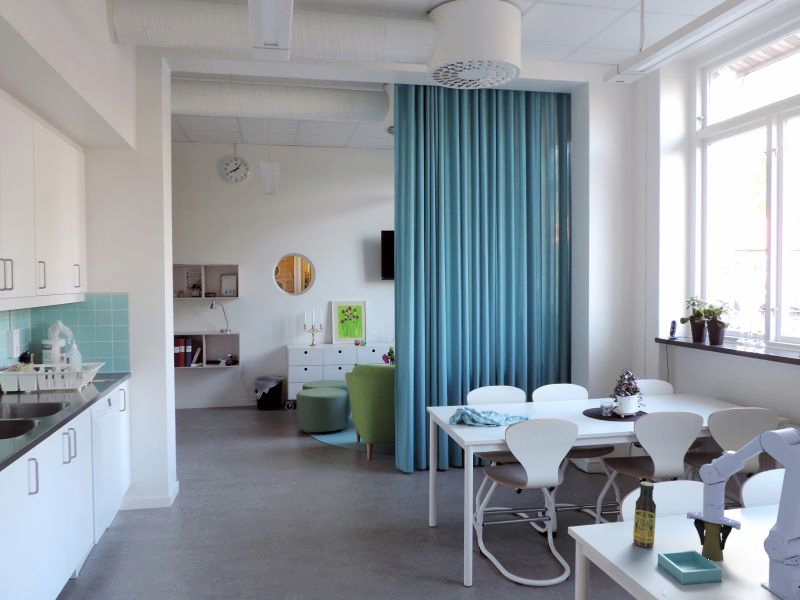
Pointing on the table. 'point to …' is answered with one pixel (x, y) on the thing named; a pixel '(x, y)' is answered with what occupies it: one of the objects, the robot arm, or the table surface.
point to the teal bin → (689, 567)
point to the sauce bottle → (645, 516)
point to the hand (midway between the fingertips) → (712, 546)
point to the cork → (712, 542)
